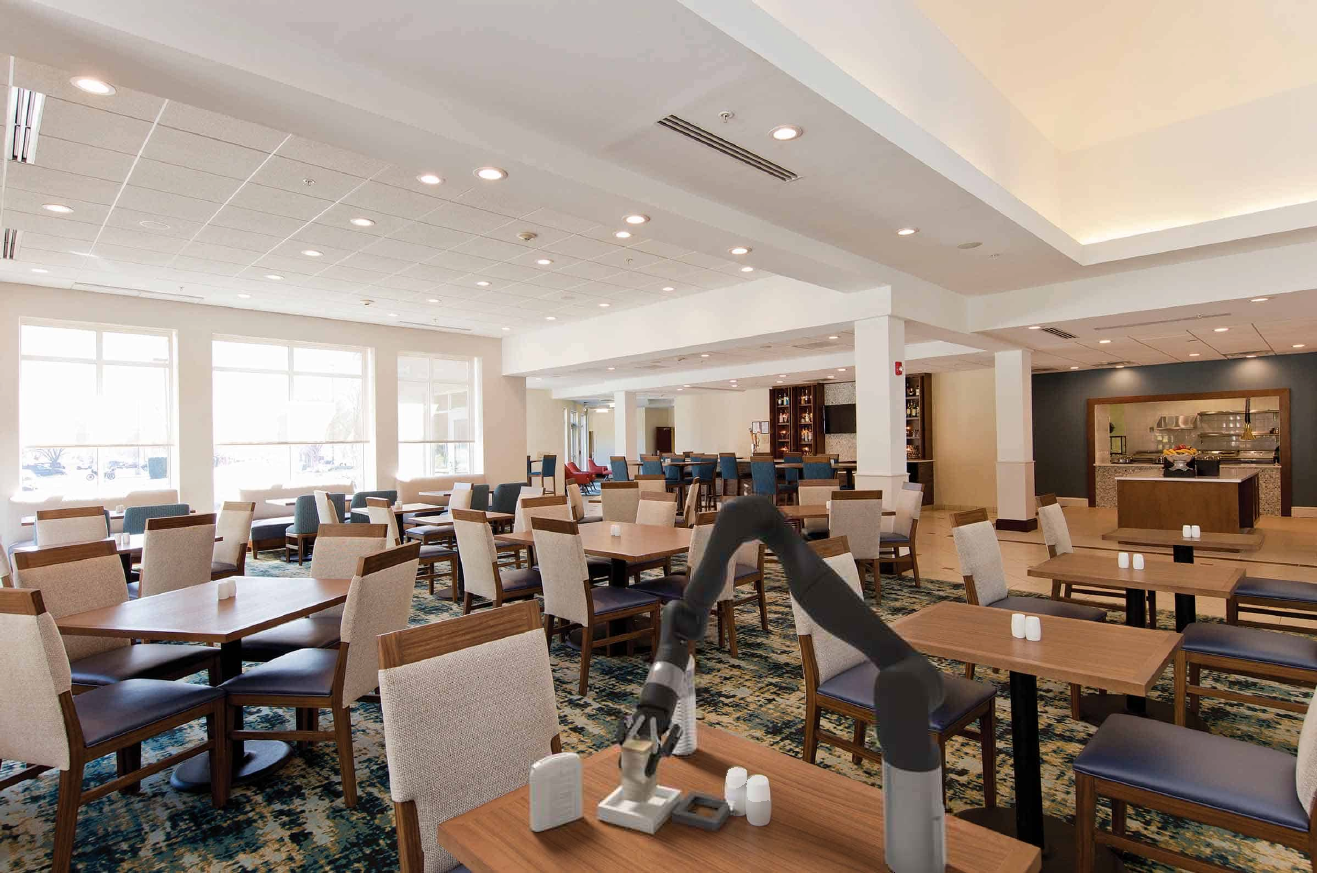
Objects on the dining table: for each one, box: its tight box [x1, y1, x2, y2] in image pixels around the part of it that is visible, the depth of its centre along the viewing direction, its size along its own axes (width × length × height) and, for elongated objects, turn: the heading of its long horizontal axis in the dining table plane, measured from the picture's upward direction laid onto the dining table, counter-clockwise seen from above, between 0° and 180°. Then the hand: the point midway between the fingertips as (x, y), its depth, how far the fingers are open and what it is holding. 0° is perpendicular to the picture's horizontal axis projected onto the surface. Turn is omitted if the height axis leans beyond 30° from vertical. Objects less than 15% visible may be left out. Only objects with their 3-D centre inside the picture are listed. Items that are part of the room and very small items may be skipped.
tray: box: [596, 784, 683, 835], centre depth 131 cm, size 12×12×2 cm
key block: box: [620, 737, 658, 805], centre depth 131 cm, size 5×5×10 cm
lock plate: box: [671, 791, 732, 833], centre depth 129 cm, size 9×9×2 cm
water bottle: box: [666, 640, 698, 756], centre depth 158 cm, size 7×7×25 cm
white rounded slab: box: [529, 752, 584, 833], centre depth 128 cm, size 10×4×12 cm, turn 123°
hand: (634, 772), depth 130 cm, fingers closed on key block, 5 cm apart
